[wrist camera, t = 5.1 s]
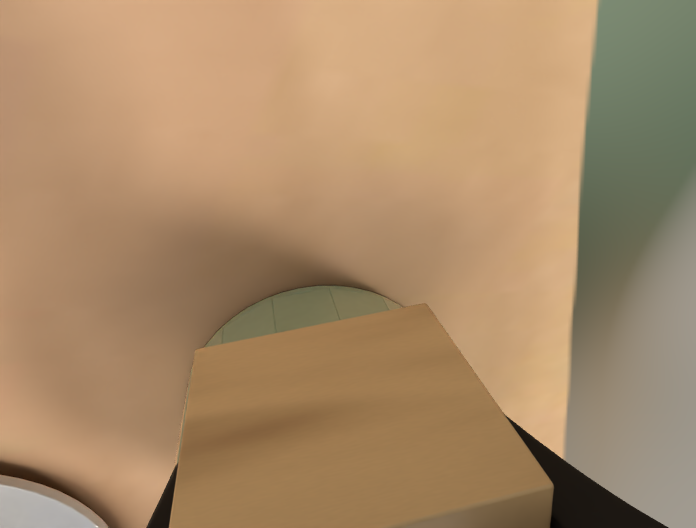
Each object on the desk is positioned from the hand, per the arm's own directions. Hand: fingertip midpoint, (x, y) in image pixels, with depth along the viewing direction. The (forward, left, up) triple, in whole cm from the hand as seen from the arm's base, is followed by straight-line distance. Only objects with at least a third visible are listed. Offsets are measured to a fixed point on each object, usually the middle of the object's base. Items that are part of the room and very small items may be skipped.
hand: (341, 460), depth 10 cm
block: (0, 0, -1) cm, 1 cm away
